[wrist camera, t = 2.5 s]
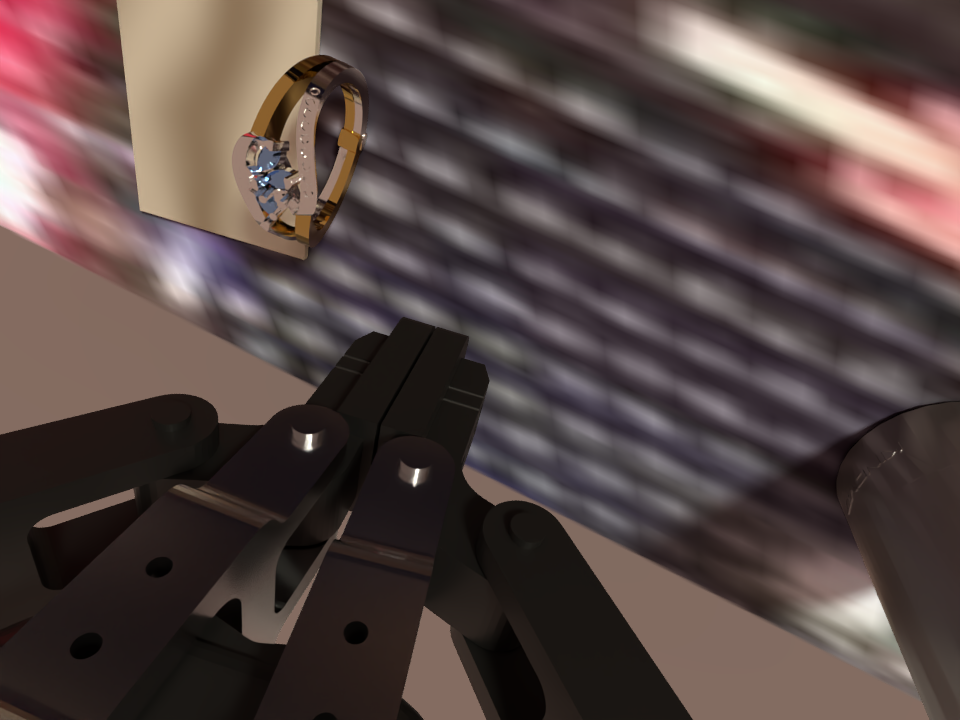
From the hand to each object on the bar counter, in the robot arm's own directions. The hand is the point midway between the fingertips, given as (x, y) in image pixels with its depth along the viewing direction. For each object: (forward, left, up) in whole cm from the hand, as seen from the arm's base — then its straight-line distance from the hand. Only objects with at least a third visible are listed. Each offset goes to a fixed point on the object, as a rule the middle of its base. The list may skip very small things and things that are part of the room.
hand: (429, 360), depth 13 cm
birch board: (+14, 0, -15) cm, 21 cm away
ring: (+8, 0, -15) cm, 17 cm away
